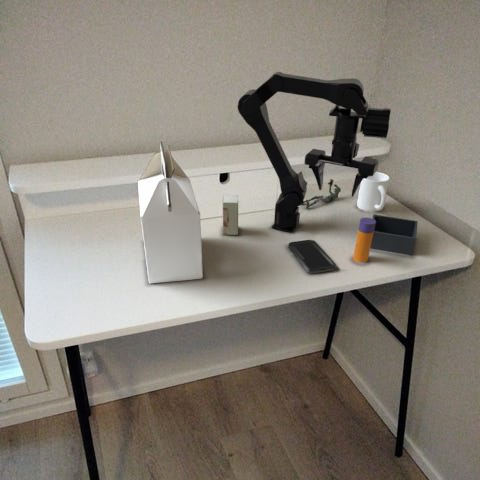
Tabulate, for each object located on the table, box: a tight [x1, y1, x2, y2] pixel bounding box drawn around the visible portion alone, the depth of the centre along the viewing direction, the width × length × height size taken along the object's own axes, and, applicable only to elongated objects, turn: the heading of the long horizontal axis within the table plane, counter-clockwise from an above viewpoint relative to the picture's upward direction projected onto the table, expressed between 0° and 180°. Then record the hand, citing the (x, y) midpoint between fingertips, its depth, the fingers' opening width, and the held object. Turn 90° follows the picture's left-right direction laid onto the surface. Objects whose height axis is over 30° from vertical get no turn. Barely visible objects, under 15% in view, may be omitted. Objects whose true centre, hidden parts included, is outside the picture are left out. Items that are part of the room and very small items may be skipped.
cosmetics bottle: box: [222, 194, 239, 236], centre depth 132 cm, size 5×4×10 cm
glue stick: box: [352, 217, 376, 263], centre depth 120 cm, size 4×4×12 cm
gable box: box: [137, 141, 204, 284], centre depth 114 cm, size 22×13×28 cm, turn 11°
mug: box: [356, 171, 390, 213], centre depth 145 cm, size 12×8×10 cm
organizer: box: [370, 214, 419, 257], centre depth 129 cm, size 12×11×6 cm
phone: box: [287, 239, 337, 274], centre depth 124 cm, size 8×1×15 cm
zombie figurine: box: [300, 178, 342, 210], centre depth 151 cm, size 5×7×15 cm
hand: (336, 192), depth 129 cm, fingers open, 9 cm apart
